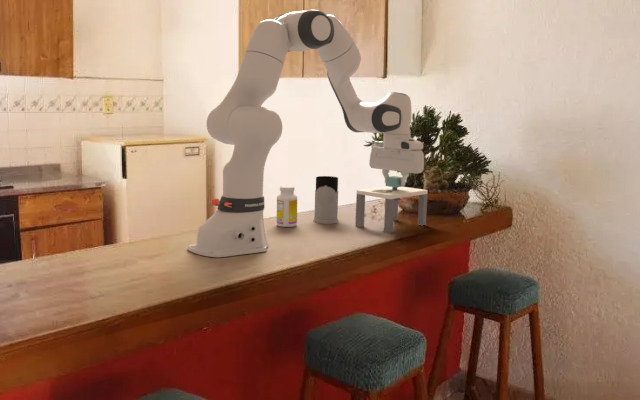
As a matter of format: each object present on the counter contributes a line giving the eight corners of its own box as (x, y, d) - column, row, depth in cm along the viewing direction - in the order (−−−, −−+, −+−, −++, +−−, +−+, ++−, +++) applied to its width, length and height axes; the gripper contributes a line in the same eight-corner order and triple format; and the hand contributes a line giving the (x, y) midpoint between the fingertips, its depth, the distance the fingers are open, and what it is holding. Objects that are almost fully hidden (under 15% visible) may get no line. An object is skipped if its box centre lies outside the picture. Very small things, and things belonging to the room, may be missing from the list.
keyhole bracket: (388, 233, 209) (390, 195, 207) (355, 226, 218) (356, 190, 216) (425, 225, 223) (427, 190, 221) (392, 219, 232) (394, 185, 230)
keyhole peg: (395, 201, 217) (396, 178, 216) (385, 199, 220) (385, 177, 219) (403, 199, 220) (404, 177, 219) (393, 198, 223) (394, 176, 222)
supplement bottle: (298, 224, 219) (299, 185, 217) (295, 228, 213) (296, 188, 211) (278, 223, 220) (278, 184, 218) (274, 227, 213) (275, 187, 211)
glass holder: (311, 222, 222) (312, 178, 220) (316, 215, 236) (318, 173, 234) (337, 224, 221) (338, 179, 219) (341, 216, 235) (342, 174, 232)
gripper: (366, 140, 222) (364, 181, 224) (416, 145, 208) (414, 188, 210) (378, 140, 226) (376, 180, 228) (427, 144, 212) (425, 186, 214)
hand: (394, 184), depth 219 cm, fingers closed on keyhole peg, 4 cm apart
